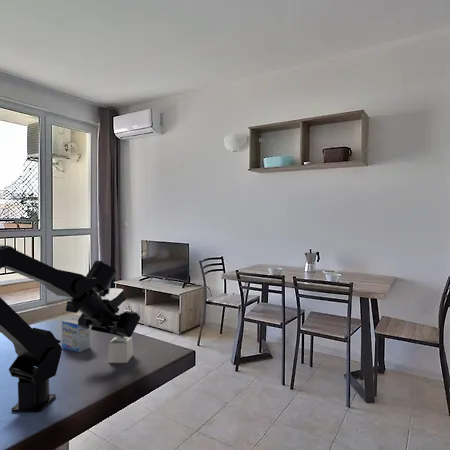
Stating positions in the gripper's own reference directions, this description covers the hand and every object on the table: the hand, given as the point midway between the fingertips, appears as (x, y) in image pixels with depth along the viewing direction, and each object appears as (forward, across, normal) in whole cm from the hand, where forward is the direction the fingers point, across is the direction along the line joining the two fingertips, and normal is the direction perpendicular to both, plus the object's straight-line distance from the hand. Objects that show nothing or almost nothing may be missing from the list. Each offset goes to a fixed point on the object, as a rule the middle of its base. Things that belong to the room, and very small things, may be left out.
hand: (124, 334), depth 101 cm
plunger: (+3, 0, +5) cm, 6 cm away
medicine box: (+4, +19, +6) cm, 20 cm away
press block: (+4, 0, +6) cm, 7 cm away
